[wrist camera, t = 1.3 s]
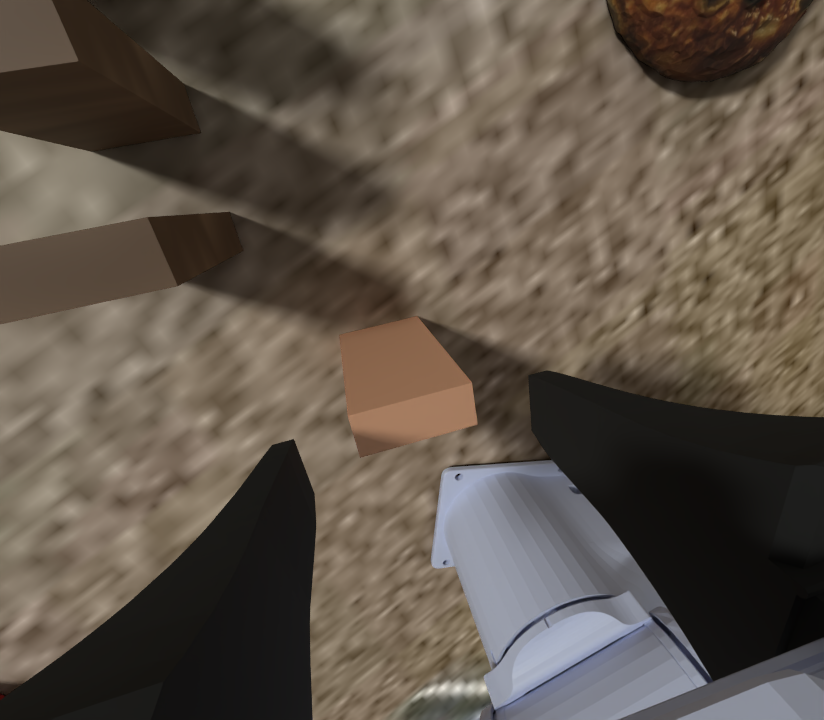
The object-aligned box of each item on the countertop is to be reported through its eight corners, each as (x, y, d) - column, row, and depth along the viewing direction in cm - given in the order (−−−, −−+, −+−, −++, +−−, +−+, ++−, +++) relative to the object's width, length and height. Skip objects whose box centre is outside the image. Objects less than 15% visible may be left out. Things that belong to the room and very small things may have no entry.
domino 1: (201, 132, 15) (78, 61, 7) (91, 151, 14) (-154, 95, 7) (183, 83, 14) (30, -48, 7) (68, 101, 14) (-228, -19, 6)
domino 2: (243, 250, 17) (177, 286, 9) (147, 270, 16) (-1, 324, 9) (229, 211, 16) (147, 217, 9) (129, 231, 15) (-47, 254, 8)
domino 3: (422, 344, 20) (477, 424, 13) (347, 363, 19) (360, 457, 12) (417, 315, 19) (472, 382, 12) (339, 334, 19) (347, 415, 12)
